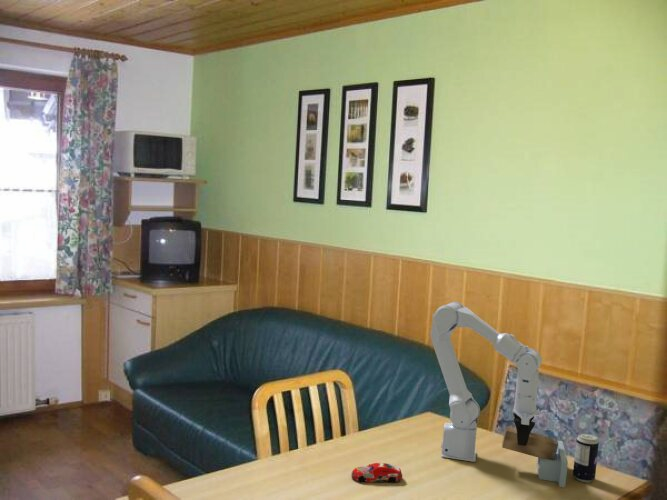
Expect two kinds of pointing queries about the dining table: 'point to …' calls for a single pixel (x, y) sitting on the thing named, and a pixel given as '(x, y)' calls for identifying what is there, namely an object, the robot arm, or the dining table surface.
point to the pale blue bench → (554, 467)
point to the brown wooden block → (531, 444)
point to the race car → (377, 473)
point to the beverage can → (585, 457)
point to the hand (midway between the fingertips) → (521, 442)
